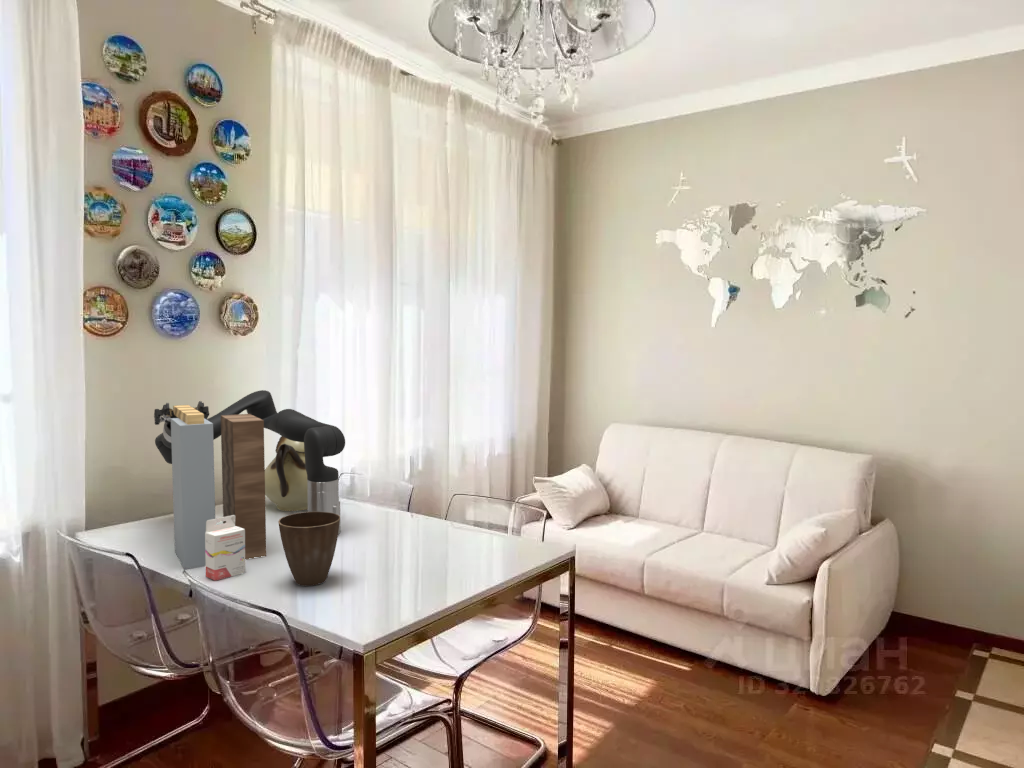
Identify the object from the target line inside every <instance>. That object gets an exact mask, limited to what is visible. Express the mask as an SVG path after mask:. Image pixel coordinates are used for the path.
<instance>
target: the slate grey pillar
mask: <svg viewBox="0 0 1024 768" xmlns="http://www.w3.org/2000/svg"><path fill="white" fill-rule="evenodd" d="M171 444H172V464H171V466H172V468H171V469H172V471H171V473H172V475H171V476H172V499H173V500H172V501H173V502H172V504H173V506H172V507H173V530H174V531H173V533H174V538H173V539H174V540H173V541H174V554H175V557H177V559H178V560H179V562H180V564H181V567H182V568H183V570H190V569H196V568H202V567H203V568H204V567H206V560H205V532H206V521H207V520H212V519H216V495H215V494H216V491H215V488H216V487H215V485H216V484H215V453H214V450H215V449H214V448H215V447H214V445H215V444H214V440H213V423H211V422H210V421H208V420H206V419H205V418H204V424H191V425H187V424H186V423H185V422H183V421H182V420H181V419H179V418H171Z"/></svg>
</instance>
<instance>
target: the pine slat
mask: <svg viewBox="0 0 1024 768" xmlns="http://www.w3.org/2000/svg"><path fill="white" fill-rule="evenodd" d="M193 407H194V406H190V404H179V405H178V404H177V405H172V410H173V412H174V415H175V416H176V417H178V418H179V419H181V420H182V421H183V422H185V423H186V424H187V425H191V424H204V414H203V413H201V412H199V411H198V410H196V409H194V408H195V407H194V408H193Z"/></svg>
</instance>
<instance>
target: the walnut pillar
mask: <svg viewBox="0 0 1024 768" xmlns="http://www.w3.org/2000/svg"><path fill="white" fill-rule="evenodd" d="M220 440H221V441H220V443H221V445H220V449H221V483H222V484H221V485H222V489H221V491H222V517H226V516H231V515H235V526H237V527H240V528H243V529H245V559H246V560H250V559H249V558H252V559H255V558H254V557H259V558H262V557H261V556H265V557H267V525H266V523H267V522H266V520H267V518H266V514H267V513H266V495H265V469H266V468H265V428H264V420H262V419H260V418H258V417H255V416H253V415H251V414H248V413H244V414H243V413H240V414H238V415H221V436H220ZM224 523H226V521H222V524H224Z"/></svg>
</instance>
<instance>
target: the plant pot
mask: <svg viewBox="0 0 1024 768" xmlns="http://www.w3.org/2000/svg"><path fill="white" fill-rule="evenodd" d="M340 521H341V515H340V516H339V515H337V514H335V513H330V512H308V511H304V512H296V513H291V514H288V515H285V516H283V517H281V518H279V520H278V521H277V522H278V528H279V529H278V530H279V534H280V535H279V536H280V539H281V544H282V549H283V551H284V555H285V559H286V561H287V564H288V567H289V569H290V572H291V575H292V577H293V580H294V582H295V583H296V585H297V586H302V587H313V586H318V585H321V584H324V583H325V582H326V580H327V578H328V575H329V574H330V570H331V567H332V563H333V560H334V556H335V553H336V552H335V551H336V547H337V543H338V538H339V535H338V531H339V523H340Z"/></svg>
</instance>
